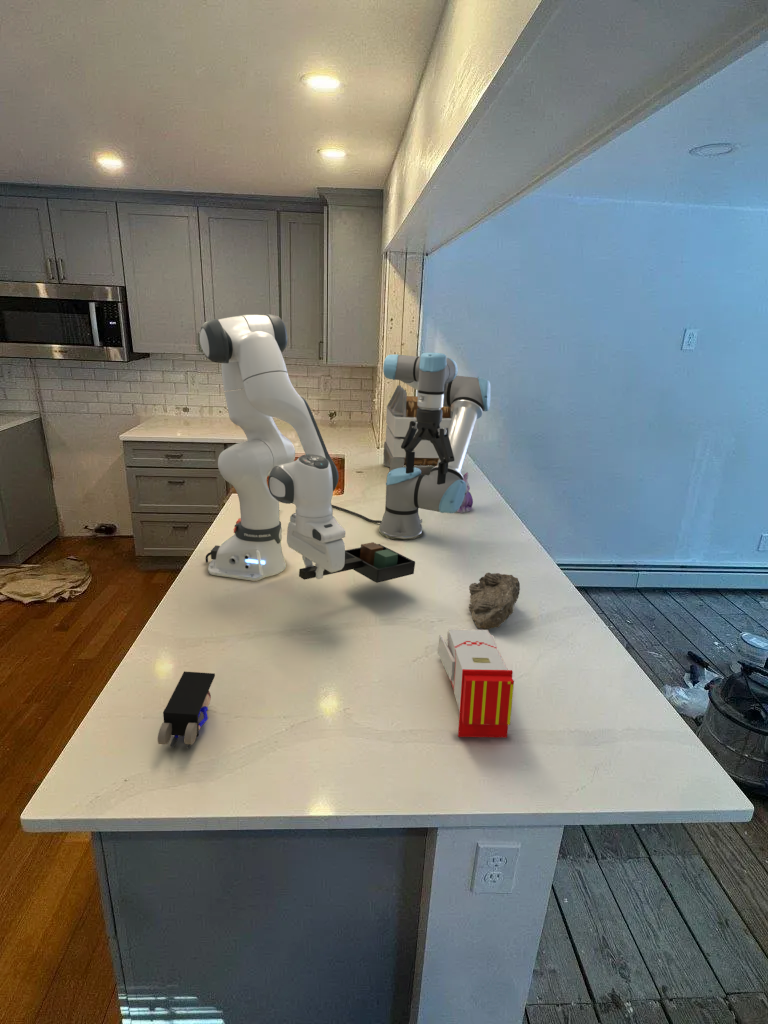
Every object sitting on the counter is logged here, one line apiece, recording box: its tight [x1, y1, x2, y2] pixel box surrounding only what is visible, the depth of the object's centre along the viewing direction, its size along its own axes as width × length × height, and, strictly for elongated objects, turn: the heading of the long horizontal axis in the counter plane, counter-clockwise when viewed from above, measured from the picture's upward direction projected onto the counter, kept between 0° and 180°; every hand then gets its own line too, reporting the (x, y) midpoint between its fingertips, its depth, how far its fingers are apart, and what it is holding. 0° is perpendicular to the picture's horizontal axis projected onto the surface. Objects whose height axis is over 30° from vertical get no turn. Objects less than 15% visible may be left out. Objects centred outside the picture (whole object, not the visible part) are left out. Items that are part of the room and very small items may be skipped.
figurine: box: [455, 472, 474, 514], centre depth 225 cm, size 9×10×15 cm
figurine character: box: [157, 670, 216, 749], centre depth 104 cm, size 7×8×15 cm
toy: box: [437, 628, 515, 738], centre depth 117 cm, size 12×13×30 cm
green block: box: [374, 548, 398, 569], centre depth 152 cm, size 4×4×5 cm
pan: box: [298, 543, 416, 584], centre depth 148 cm, size 15×31×4 cm, turn 131°
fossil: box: [468, 572, 521, 630], centre depth 149 cm, size 22×10×15 cm
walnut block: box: [360, 541, 383, 566], centre depth 156 cm, size 4×4×5 cm
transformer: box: [383, 384, 453, 472], centre depth 268 cm, size 34×33×41 cm
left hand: (314, 575), depth 141 cm, fingers closed on pan, 2 cm apart
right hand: (424, 478), depth 172 cm, fingers open, 13 cm apart
